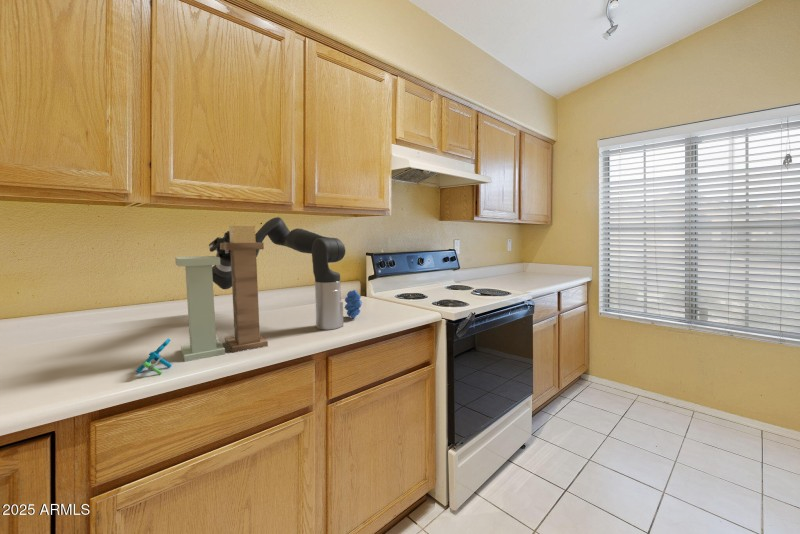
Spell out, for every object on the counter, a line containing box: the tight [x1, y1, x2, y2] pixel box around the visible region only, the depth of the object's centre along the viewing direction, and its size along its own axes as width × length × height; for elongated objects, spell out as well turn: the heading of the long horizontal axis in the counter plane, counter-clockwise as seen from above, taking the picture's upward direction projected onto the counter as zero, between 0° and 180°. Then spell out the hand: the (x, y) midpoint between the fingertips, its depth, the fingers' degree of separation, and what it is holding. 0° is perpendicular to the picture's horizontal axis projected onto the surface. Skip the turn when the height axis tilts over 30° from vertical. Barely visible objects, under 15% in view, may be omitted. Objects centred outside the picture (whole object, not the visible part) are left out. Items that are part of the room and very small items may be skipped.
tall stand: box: [220, 242, 269, 353], centre depth 108 cm, size 12×10×32 cm
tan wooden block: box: [228, 225, 256, 243], centre depth 111 cm, size 21×6×5 cm, turn 36°
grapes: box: [344, 289, 363, 319], centre depth 144 cm, size 12×7×12 cm, turn 37°
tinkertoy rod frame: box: [135, 338, 173, 375], centre depth 89 cm, size 11×6×10 cm
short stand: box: [174, 255, 226, 362], centre depth 101 cm, size 12×10×28 cm
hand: (234, 233), depth 114 cm, fingers closed on tan wooden block, 3 cm apart
